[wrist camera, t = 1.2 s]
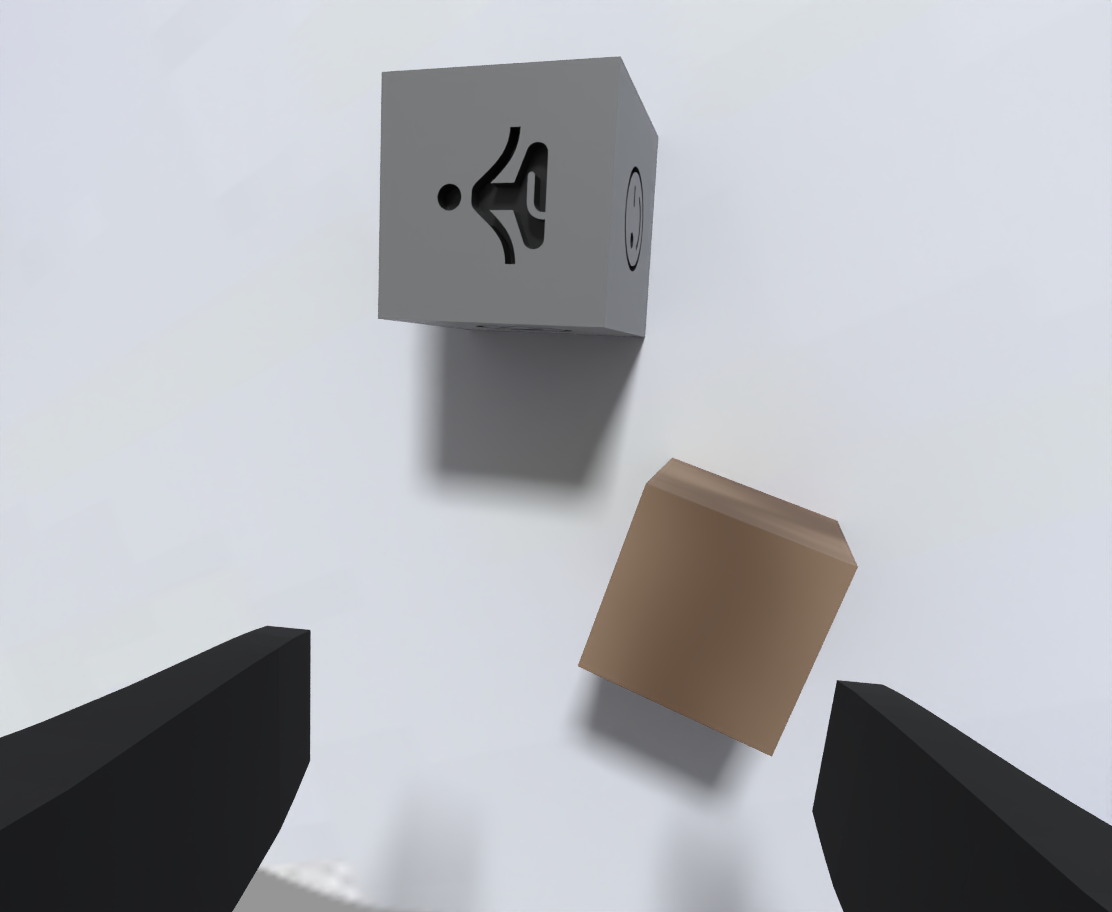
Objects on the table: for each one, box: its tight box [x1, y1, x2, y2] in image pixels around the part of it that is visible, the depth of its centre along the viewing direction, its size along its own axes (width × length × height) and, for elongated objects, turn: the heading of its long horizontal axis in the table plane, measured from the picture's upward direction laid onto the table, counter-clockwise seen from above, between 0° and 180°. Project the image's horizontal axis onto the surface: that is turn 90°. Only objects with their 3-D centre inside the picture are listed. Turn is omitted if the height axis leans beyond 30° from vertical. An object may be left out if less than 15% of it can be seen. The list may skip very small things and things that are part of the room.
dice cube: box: [378, 56, 658, 337], centre depth 17 cm, size 5×5×5 cm
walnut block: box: [578, 458, 858, 756], centre depth 17 cm, size 4×4×4 cm
